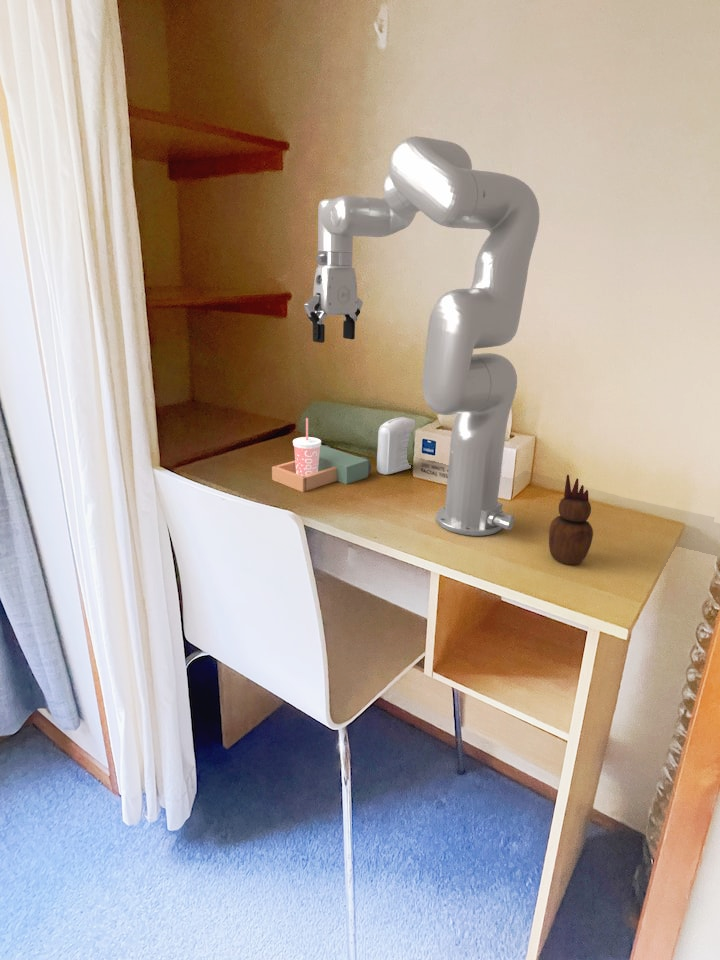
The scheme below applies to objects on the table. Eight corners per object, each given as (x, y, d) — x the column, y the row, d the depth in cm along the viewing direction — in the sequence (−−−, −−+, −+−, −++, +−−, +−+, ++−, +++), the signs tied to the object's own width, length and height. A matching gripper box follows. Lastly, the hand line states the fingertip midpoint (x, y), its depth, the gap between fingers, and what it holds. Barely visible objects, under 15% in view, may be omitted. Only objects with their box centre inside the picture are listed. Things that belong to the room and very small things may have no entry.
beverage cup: (292, 484, 133) (291, 421, 128) (293, 475, 139) (293, 414, 134) (320, 485, 134) (321, 422, 129) (321, 475, 139) (321, 414, 134)
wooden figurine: (541, 560, 103) (553, 476, 98) (551, 548, 108) (564, 467, 103) (582, 572, 100) (597, 485, 95) (591, 559, 104) (606, 475, 99)
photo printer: (403, 462, 149) (406, 413, 145) (417, 467, 146) (420, 416, 142) (373, 472, 143) (375, 419, 138) (387, 476, 140) (389, 423, 135)
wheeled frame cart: (371, 475, 140) (371, 459, 139) (312, 496, 127) (312, 477, 126) (322, 459, 150) (322, 443, 149) (263, 476, 138) (263, 459, 136)
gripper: (318, 261, 127) (317, 345, 133) (374, 261, 139) (371, 339, 145) (293, 260, 132) (294, 341, 138) (350, 260, 144) (348, 335, 150)
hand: (334, 340), depth 141 cm, fingers open, 9 cm apart
